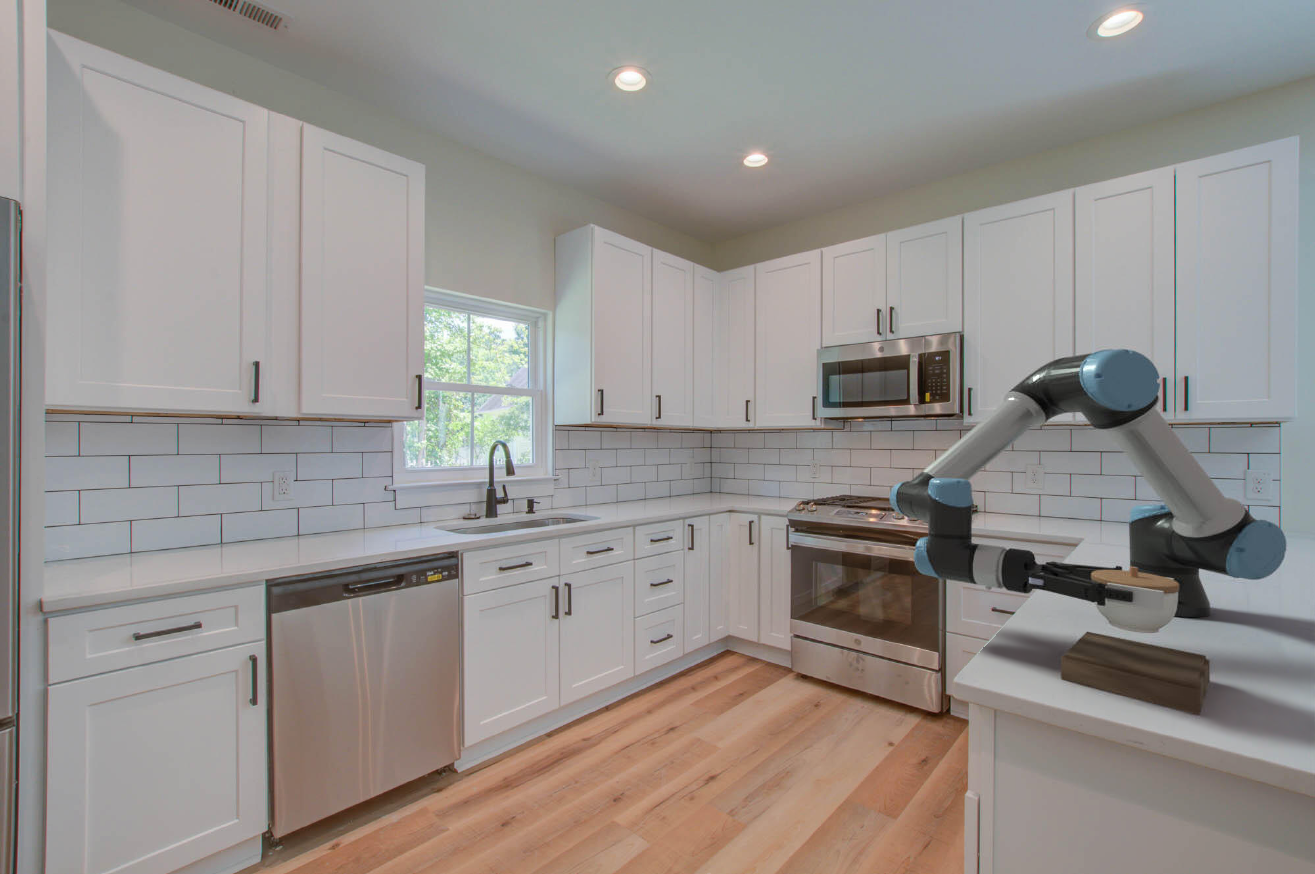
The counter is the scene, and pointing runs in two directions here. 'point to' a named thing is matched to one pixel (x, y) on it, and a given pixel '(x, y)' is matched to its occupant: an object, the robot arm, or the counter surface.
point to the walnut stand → (1138, 671)
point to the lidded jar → (1134, 615)
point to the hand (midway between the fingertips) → (1168, 593)
